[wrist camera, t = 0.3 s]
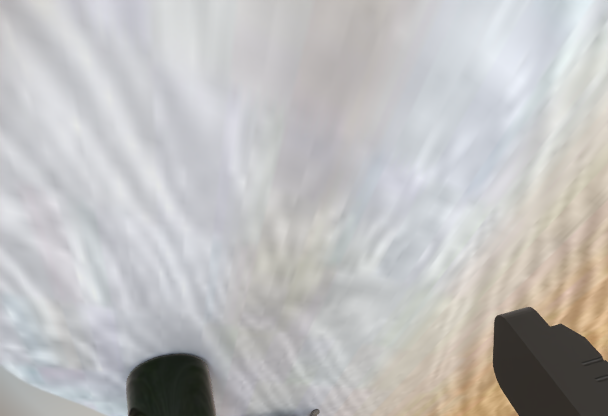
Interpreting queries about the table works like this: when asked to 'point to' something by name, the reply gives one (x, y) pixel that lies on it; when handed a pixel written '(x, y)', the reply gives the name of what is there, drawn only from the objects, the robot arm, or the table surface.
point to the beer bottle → (170, 387)
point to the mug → (315, 412)
